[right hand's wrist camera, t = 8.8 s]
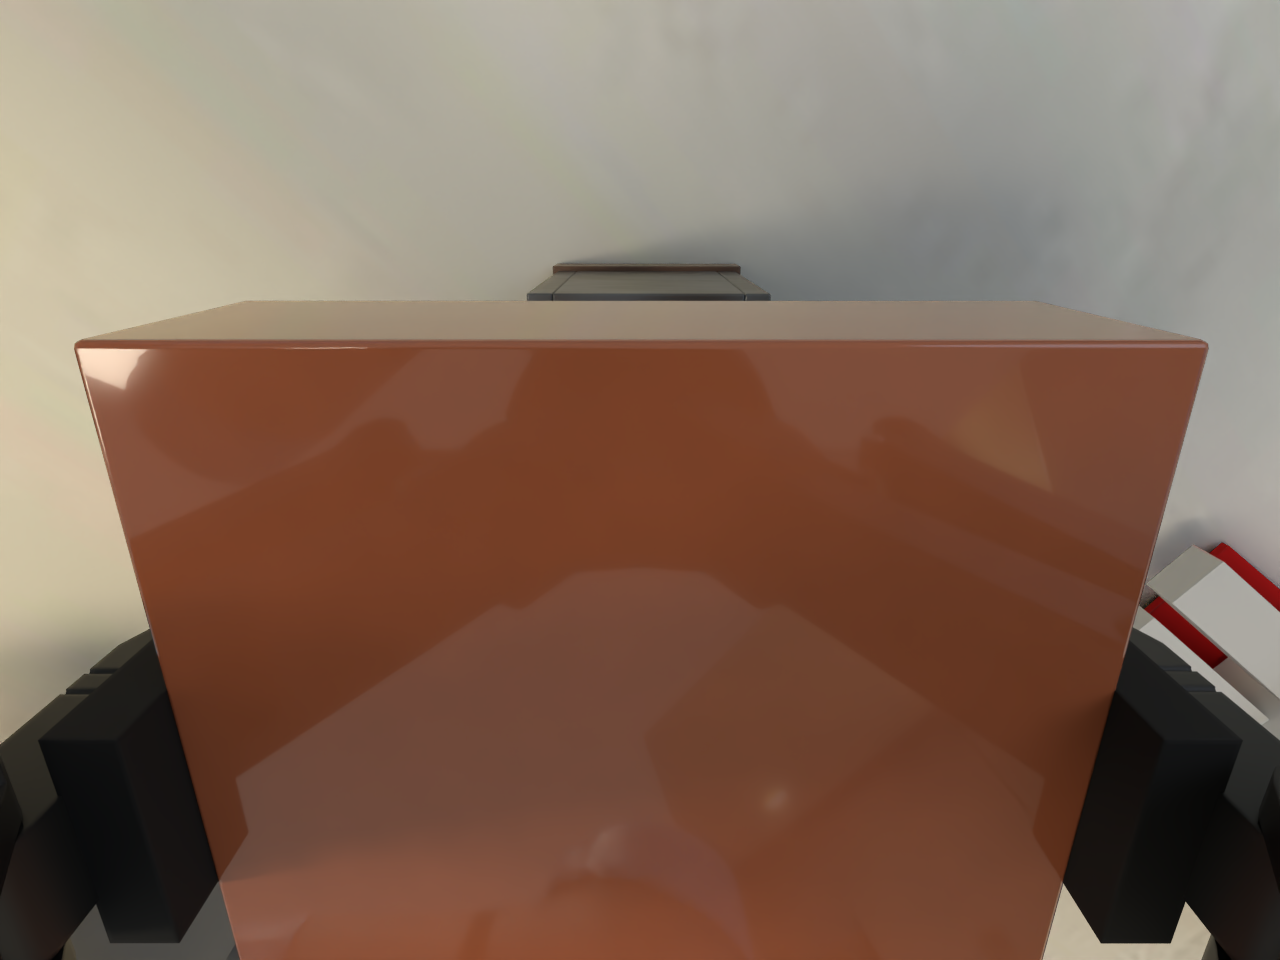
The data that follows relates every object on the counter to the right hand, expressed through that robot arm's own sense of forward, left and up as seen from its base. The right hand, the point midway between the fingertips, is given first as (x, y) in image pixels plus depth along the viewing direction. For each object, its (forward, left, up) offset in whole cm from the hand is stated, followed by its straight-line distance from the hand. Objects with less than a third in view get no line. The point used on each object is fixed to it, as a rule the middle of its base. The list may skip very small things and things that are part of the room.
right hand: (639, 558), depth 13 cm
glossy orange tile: (0, 0, +2) cm, 2 cm away
